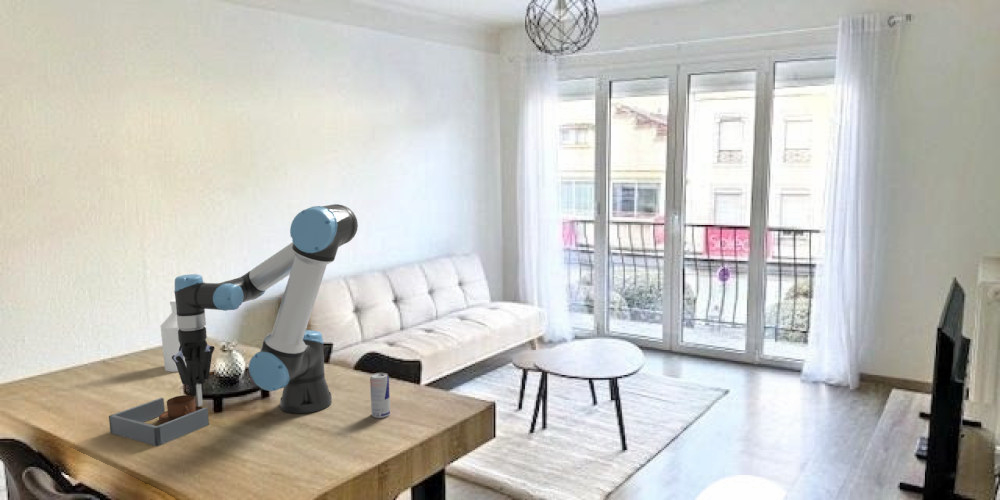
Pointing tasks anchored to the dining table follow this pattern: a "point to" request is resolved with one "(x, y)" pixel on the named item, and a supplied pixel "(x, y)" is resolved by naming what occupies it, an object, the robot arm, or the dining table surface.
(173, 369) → the bottle
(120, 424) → the box
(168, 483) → the dining table surface
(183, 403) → the cup and saucer
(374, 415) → the energy drink
